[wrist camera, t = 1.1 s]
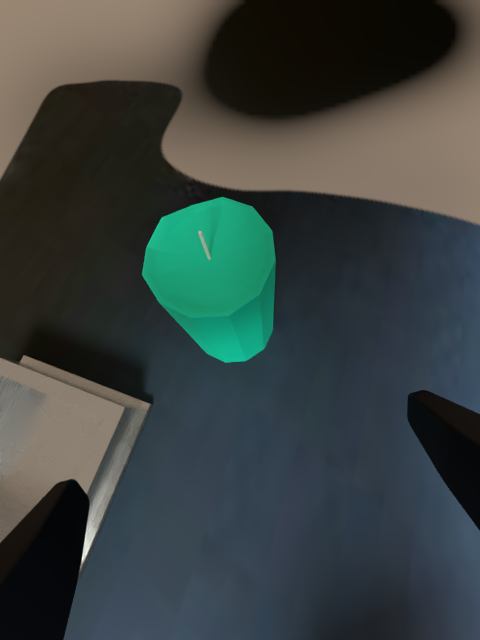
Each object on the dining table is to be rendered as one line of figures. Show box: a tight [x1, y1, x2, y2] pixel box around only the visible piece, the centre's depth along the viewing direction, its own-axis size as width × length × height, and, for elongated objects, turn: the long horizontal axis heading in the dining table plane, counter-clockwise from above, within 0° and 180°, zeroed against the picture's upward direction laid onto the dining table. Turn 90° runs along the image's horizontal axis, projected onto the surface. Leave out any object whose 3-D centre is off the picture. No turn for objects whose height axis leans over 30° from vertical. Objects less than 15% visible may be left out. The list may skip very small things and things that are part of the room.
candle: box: [142, 197, 276, 362], centre depth 18 cm, size 6×6×12 cm
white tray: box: [0, 355, 153, 579], centre depth 19 cm, size 11×17×4 cm, turn 161°
